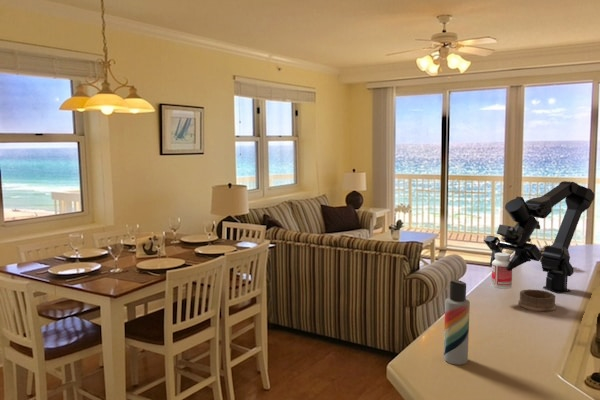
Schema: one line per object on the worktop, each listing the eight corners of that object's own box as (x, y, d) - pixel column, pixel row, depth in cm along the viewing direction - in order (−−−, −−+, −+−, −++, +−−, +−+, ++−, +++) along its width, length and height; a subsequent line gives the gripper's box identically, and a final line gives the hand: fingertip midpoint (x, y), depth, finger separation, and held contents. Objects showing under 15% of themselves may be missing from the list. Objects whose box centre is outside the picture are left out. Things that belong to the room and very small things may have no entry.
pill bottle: (515, 287, 163) (516, 254, 161) (504, 291, 159) (505, 257, 158) (498, 283, 168) (499, 251, 166) (487, 286, 164) (488, 253, 163)
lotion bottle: (440, 355, 125) (442, 277, 122) (462, 354, 125) (464, 277, 123) (448, 365, 119) (451, 284, 117) (471, 364, 119) (474, 283, 117)
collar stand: (537, 299, 168) (538, 287, 168) (563, 309, 158) (564, 297, 157) (510, 302, 165) (511, 290, 165) (535, 313, 155) (536, 301, 154)
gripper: (488, 212, 170) (464, 247, 166) (537, 219, 154) (512, 258, 150) (503, 232, 175) (480, 267, 171) (552, 241, 159) (528, 280, 155)
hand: (499, 267), depth 162 cm, fingers closed on pill bottle, 6 cm apart
